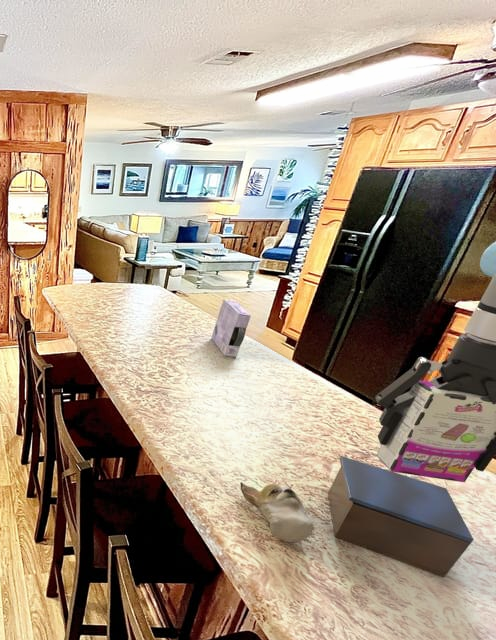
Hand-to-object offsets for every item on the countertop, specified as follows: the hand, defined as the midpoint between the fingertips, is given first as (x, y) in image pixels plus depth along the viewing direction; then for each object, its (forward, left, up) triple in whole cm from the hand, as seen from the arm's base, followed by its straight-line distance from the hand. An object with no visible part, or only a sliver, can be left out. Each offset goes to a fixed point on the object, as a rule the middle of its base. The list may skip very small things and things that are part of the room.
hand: (426, 453), depth 68 cm
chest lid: (0, 0, -10) cm, 10 cm away
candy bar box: (0, 0, -4) cm, 4 cm away
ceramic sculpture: (+18, +8, -20) cm, 28 cm away
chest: (0, 0, -19) cm, 19 cm away
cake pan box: (+36, -81, -20) cm, 91 cm away
